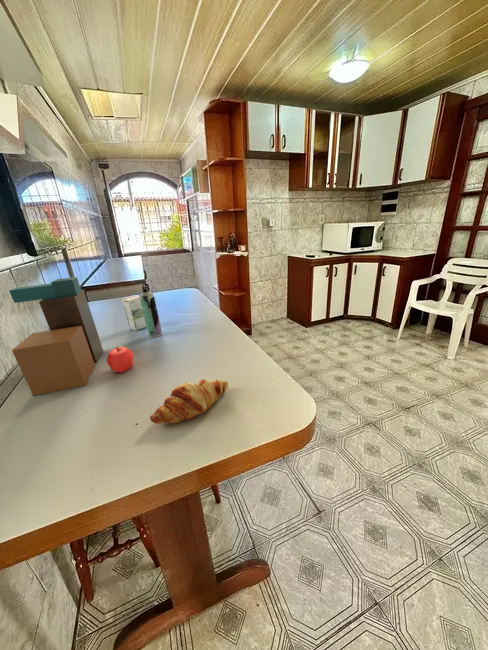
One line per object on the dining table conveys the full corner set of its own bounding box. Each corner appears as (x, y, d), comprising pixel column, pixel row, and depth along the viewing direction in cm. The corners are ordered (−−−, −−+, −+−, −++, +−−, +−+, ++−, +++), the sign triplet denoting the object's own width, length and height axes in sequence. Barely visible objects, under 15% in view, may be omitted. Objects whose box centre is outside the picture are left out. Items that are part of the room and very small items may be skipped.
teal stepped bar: (13, 303, 82) (6, 287, 80) (21, 299, 87) (15, 284, 85) (77, 294, 86) (71, 279, 84) (81, 291, 90) (76, 276, 88)
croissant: (223, 394, 76) (213, 368, 76) (242, 393, 68) (230, 364, 68) (151, 433, 63) (139, 401, 64) (163, 438, 55) (150, 402, 55)
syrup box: (140, 324, 125) (133, 294, 119) (147, 326, 121) (140, 296, 116) (129, 328, 121) (121, 298, 115) (136, 331, 117) (128, 299, 112)
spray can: (163, 335, 111) (153, 288, 103) (150, 338, 108) (139, 291, 101) (160, 331, 115) (150, 285, 108) (147, 334, 113) (136, 288, 105)
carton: (32, 395, 77) (11, 350, 71) (49, 374, 88) (32, 333, 82) (85, 385, 80) (68, 340, 74) (95, 366, 91) (81, 325, 85)
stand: (65, 369, 91) (38, 301, 82) (74, 355, 100) (51, 293, 91) (96, 363, 93) (74, 296, 84) (103, 350, 102) (83, 289, 93)
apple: (126, 376, 83) (119, 353, 80) (104, 374, 85) (97, 352, 82) (141, 363, 90) (135, 341, 87) (120, 362, 92) (114, 341, 89)
